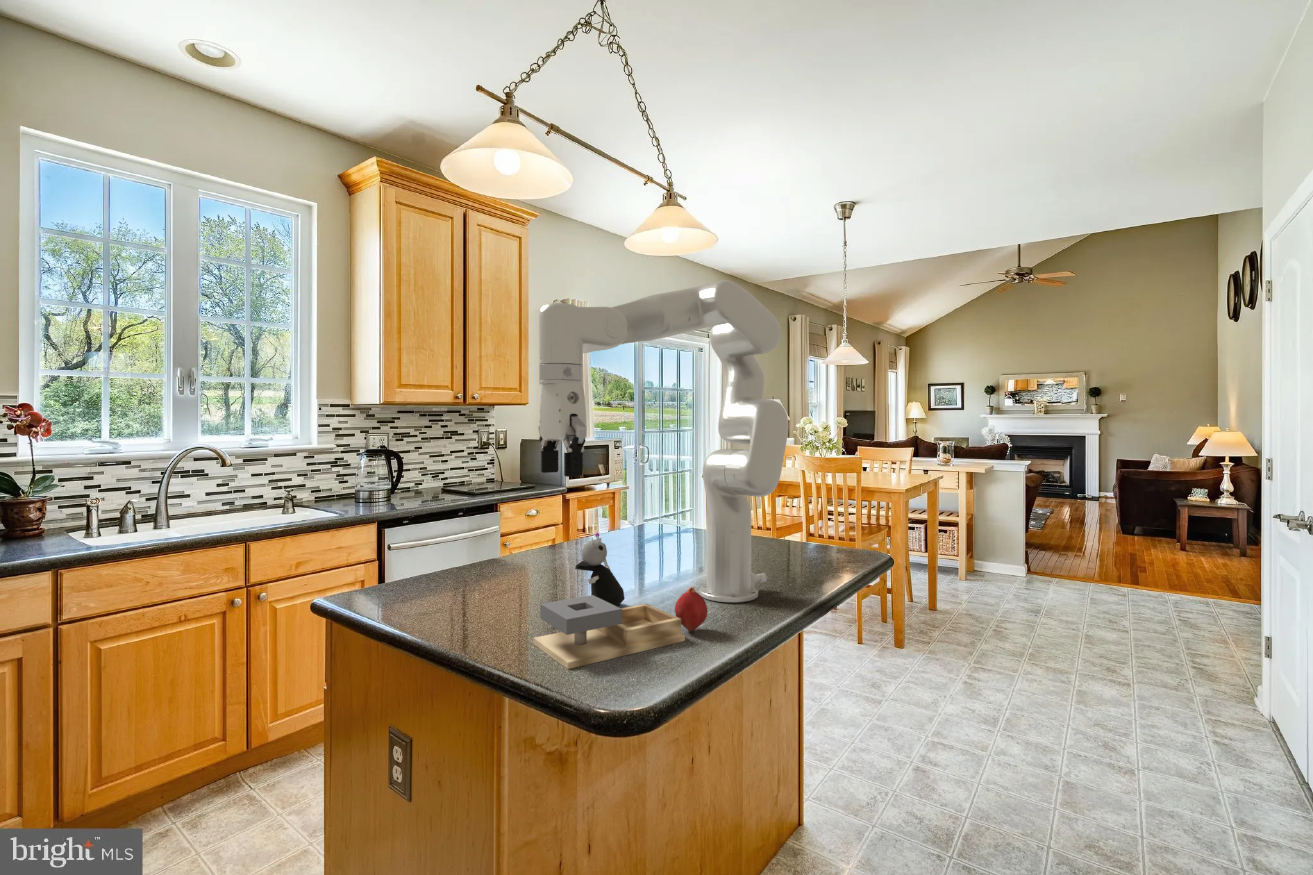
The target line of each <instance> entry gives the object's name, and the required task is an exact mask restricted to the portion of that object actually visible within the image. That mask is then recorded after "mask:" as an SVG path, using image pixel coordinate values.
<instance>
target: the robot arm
mask: <svg viewBox="0 0 1313 875" xmlns="http://www.w3.org/2000/svg"><path fill="white" fill-rule="evenodd" d="M538 319H539V320H538V327H539V328H538V330H539V331H538V335H539V337H538V338H539V339H538V340H539V341H538V342H539V344H538V345H539V347H538V349H539V351H538V352H539V353H538V357H539V358H538V359H539V360H538V364H539V366H538V368H539V369H538V370H539V372H538V373H539V378H538V379H539V380H538V383H539V384H538V385H541V394H540V406H539V407H540V408H539V409H540V410H539V426H538V433H539V438H538V440H539V442H540V445H539V449H540V472H541V473H544V474H546V473H558V472H559V450H558V449H557V448H558V445H559V442H562V443H563V445H564V448H565V451H566V452H564V453H563V457H564V458H563V471H564V472H563V475H564V477H566V478H567V477H569V478H570V477H571V478H572V477H582V476H583V473H584V472H583V471H584V470H583V469H584V468H583V467H584V464H583V461H584V459H583V456H584V455H583V453H584V452H585V447H584V445H585V443H586V438H587V434H588V428H587V409H586V398H585V389H584V382H583V381H584V380H583V378H584V377H583V375H584V373H583V372H584V370H583V368H584V362H583V361H584V359H583V358H584V357H583V356H584V354H588V353H594V352H600V351H605V350H606V351H607V350H611V349H614V348H617V347H619V346H620V345H625V344H630V343H639V342H640V343H642V342H649V341H655V340H659V339H660V340H661V339H664V338H670V337H672V336H677V335H680V334H685V333H688V332H693V331H697V330H701V329H706V328H709V327H710V328H711V327H712V328H711V330H710V331H709V332H710V334H709V340H710V345H711V347H712V348H711V349H712V350H713V351H714V353H715V354H716V356H717V357H718V358H719V360H720V363H721V365H722V367H723V370H724V373H725V374H724V375H725V382H724V390H723V396H722V401H721V406H720V412H719V417H718V423H717V424H718V425H717V426H718V429H717V430H718V434H719V436H720V437H721V439H723V441H725V442H727V443H732V444H737V445H749V447H748V449H741V448H739V449H738V448H721V449H718V450H716V449H715V450H714V451H712V452H711V453H710V454H709V455H707V457H706V459H705V460H704V461H703V466H702V480H703V485H704V489H705V496H706V498H705V499H706V514H707V515H706V520H707V521H706V584H704V585H701V587H700V588H699V591H698V592H699V593H698V594H699V595H701V596H702V597H703V599H706V600H709V601H714V602H719V603H744V602H746V603H747V602H751V601H753V600H756V599H757V598H758V597H759V590H758V589H757V588H756V587H755V586H756V585H757V583H764V582H766V581H767V580H768V576H767V574H766V573H764V572H762V573H756V574H755V572H752V511H751V507H750V503H749V500H748V498H747V496H748V497H758V498H759V497H761V498H762V497H767V496H769V495H771V494H773V492H774V491H775V490H776V488H777V486H778V484H779V483H780V482H779V481H780V480H781V475H782V470H783V464H784V459H785V458H784V457H785V453H786V447H787V442H788V435H789V419H788V414H787V412H786V409H785V407H784V406H783V405H782V404H781V403H780V402H778V401H776V400H773V399H768V398H767V399H766V398H763V397H764V391H765V375H764V372H763V369H762V367H761V365H760V364H759V362H758V360H757V359H756V357H755V356H756V355H763V354H768V353H770V352H772V351H774V350H775V349H776V348H777V347H778V346H779V343H780V341H781V339H782V338H781V337H782V329H781V325H780V323H779V321H778V319H777V318H776V316H775V315H774V314H773V313H772V312H771V311H770V310H769V309H768V308H767V307H765V305H764V304H762V303H761V302H760V301H759V300H757V298H755V297H754V296H753V294H751V293H750V292H749V291H747V289H745V288H743V287H742V286H741V285H740V284H738V283H736V282H734V281H731V280H728V279H723V280H722V279H721V280H718V281H715V282H710V283H706V284H703V285H698V286H694V287H690V288H689V287H688V288H683V289H679V290H673V291H667V292H662V293H656V294H652V295H651V294H650V295H647V296H644V297H641V298H638V299H635V300H631V301H629V302H626V303H622V304H619V305H614V306H612V307H611V306H578V305H576V304H572V303H563V302H554V303H552V302H551V303H547V304H544V305H543V306H542V307H540V310H539V316H538Z"/></svg>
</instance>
